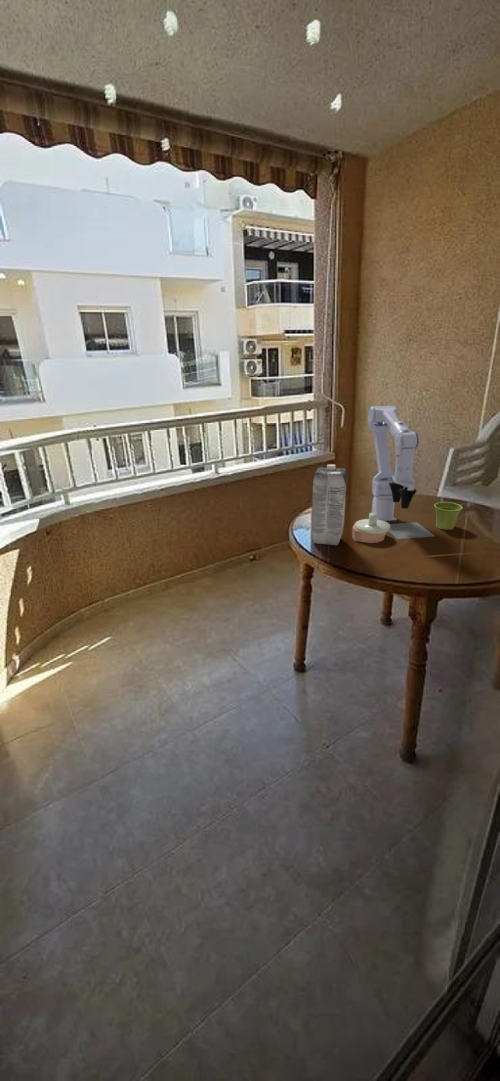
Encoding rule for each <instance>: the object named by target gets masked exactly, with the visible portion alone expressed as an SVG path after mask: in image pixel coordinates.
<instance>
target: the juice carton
mask: <svg viewBox="0 0 500 1081" xmlns="http://www.w3.org/2000/svg"><path fill="white" fill-rule="evenodd" d="M346 491H347V469H346V468H337V467H336V464H327V465H326V467H322V466H319V467H318V468H317V470H316V471H315V473H314V474H313V482H312V502H311V503H312V504H311V505H312V506H311V507H312V510H311V511H312V512H311V534H312V535H311V536H312V537H311V538H312V541H313V543H314V544H319V545H330V546H339V543H340V540H341V538H342V535H343V532H344V526H345V515H346V514H345V513H346V512H345V511H346V498H347V495H346V494H347V492H346Z"/></svg>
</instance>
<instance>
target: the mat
mask: <svg viewBox="0 0 500 1081" xmlns="http://www.w3.org/2000/svg"><path fill="white" fill-rule="evenodd" d="M389 524H390V530H389V531H388V532H389V533H390V535H392V536H393V537H394V538H395V539H396V540H404V539H405V540H406V539H417V538H419V539H420V538H429V537H430V538H431V537H434V538H435V534H433V533H431V532H430V530H428V529H426V528H425V527H424V526H422V525H421V524H420V523H419V522H404V523H401V522H400V523H389Z"/></svg>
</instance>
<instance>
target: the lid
mask: <svg viewBox="0 0 500 1081" xmlns="http://www.w3.org/2000/svg"><path fill="white" fill-rule="evenodd" d="M369 513H370V514H368V515H369V516H368V518H365V519H364V518H363V519H360V520H357V521H356V522H355V523H354V524H355V528H356V529H357V530H358V531H361V532H364V533H369V534H382V533H385V534H386V533H388V532H389V530H390V524H391V523H390V522H388V521H382V520H377V516H378V514H376V513H372V512H369Z"/></svg>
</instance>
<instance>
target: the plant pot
mask: <svg viewBox="0 0 500 1081" xmlns="http://www.w3.org/2000/svg"><path fill="white" fill-rule="evenodd" d="M433 506H434V509H435V527H436V528H438V529H441V530H446V531H447V530H448V531H451V530H453V529H454V528H455V525H456V523H457V520H458V518H459V515H460V513H461V511H462V509H463V506H462V505H461V504H458V503H455V502H450V501H442V502H439V501H438V502H436V503H434V504H433Z"/></svg>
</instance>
